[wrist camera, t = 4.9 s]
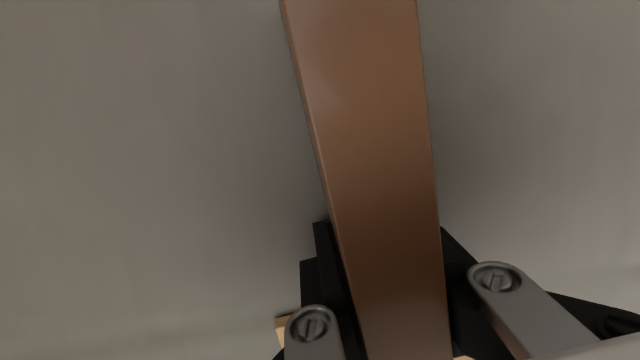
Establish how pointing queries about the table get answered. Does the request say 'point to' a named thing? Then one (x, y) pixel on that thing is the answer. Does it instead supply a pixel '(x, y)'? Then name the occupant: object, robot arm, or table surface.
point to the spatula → (375, 167)
